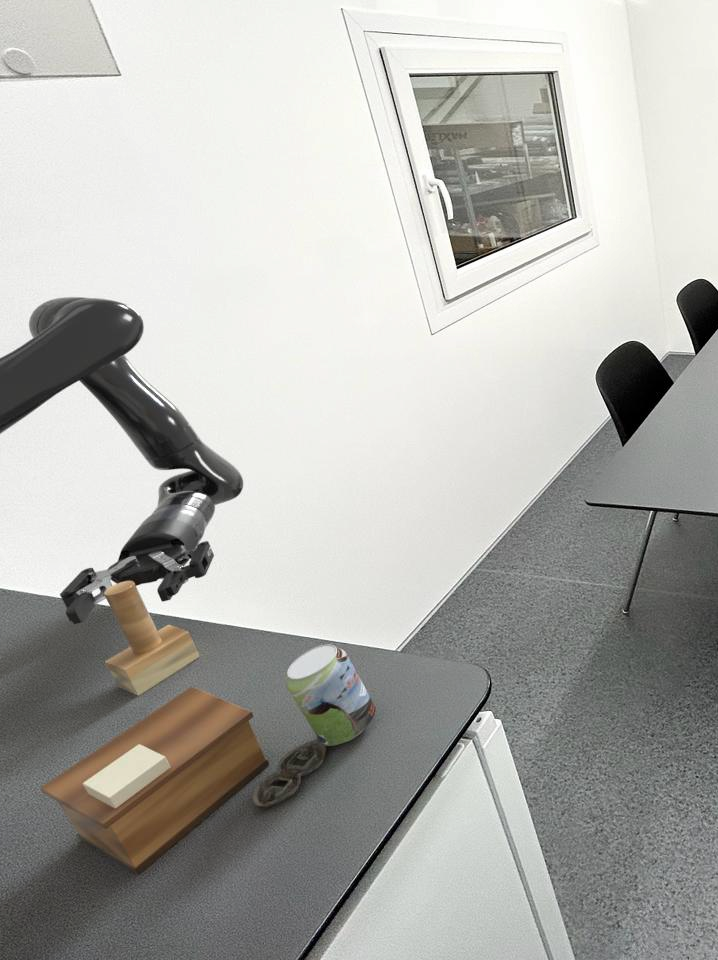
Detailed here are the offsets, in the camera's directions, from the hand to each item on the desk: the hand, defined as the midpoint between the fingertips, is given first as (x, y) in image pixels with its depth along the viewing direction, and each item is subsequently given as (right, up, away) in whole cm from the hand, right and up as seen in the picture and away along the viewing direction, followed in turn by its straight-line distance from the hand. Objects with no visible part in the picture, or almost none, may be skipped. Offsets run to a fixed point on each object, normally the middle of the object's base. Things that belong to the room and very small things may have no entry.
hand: (120, 606), depth 81 cm
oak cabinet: (+19, -18, -11) cm, 28 cm away
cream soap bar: (+21, -11, -18) cm, 29 cm away
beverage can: (+32, -15, -4) cm, 35 cm away
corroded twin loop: (+30, -17, -9) cm, 36 cm away
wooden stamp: (0, -11, +6) cm, 13 cm away
